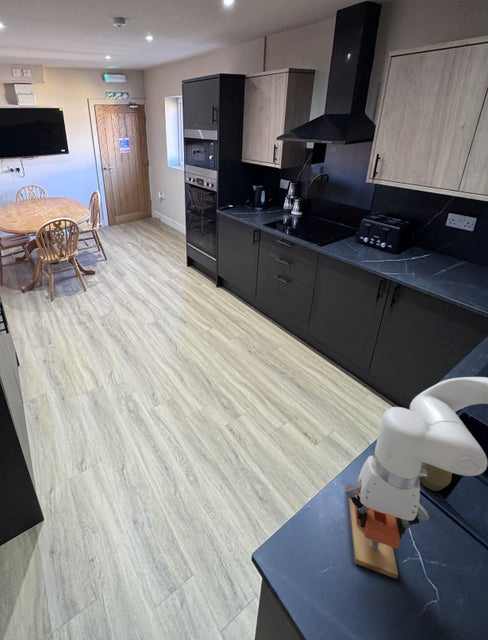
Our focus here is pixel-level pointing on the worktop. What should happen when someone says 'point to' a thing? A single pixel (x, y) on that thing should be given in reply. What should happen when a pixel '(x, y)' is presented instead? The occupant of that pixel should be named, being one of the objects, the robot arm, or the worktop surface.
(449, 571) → the worktop surface
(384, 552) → the base board
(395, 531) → the orange square ring block
